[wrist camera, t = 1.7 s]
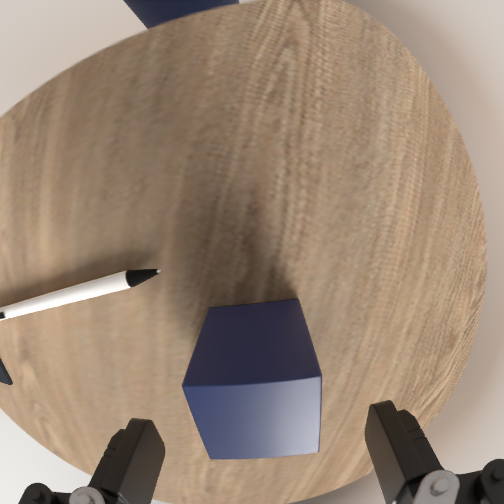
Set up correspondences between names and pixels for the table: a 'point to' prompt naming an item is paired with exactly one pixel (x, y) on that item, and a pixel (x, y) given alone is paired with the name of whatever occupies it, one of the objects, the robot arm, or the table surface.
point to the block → (255, 382)
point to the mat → (4, 375)
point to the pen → (79, 292)
